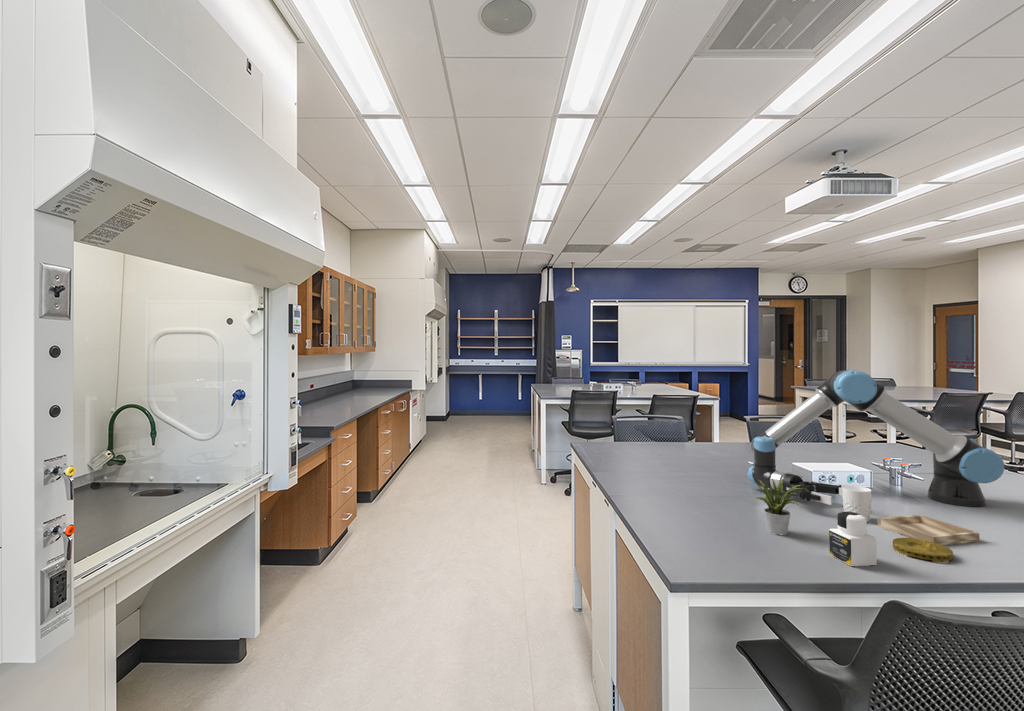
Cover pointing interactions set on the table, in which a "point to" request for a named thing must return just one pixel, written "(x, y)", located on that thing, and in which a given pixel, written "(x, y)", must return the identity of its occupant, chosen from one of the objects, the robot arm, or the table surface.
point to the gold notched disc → (922, 549)
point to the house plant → (777, 508)
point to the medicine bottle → (852, 541)
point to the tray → (928, 529)
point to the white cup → (857, 500)
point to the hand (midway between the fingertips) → (845, 498)
